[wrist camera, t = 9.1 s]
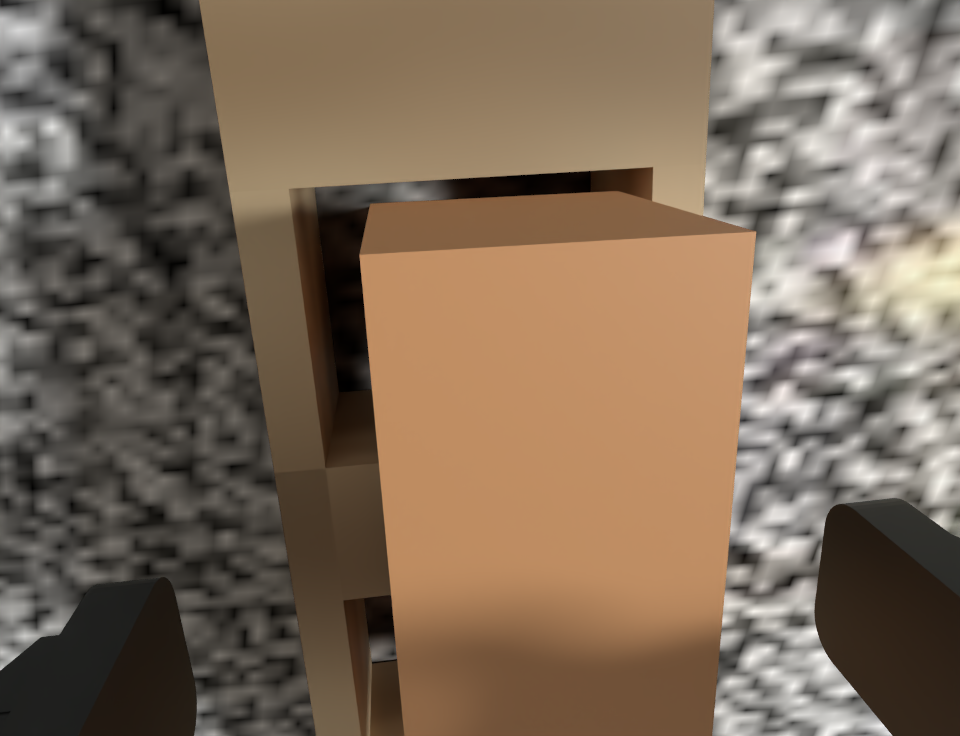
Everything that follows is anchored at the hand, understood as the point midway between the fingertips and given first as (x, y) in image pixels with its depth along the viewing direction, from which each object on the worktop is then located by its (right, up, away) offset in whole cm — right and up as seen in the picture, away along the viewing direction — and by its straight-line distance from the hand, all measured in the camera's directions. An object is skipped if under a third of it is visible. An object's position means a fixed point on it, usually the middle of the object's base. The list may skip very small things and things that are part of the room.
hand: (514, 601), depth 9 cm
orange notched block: (0, +2, +5) cm, 5 cm away
